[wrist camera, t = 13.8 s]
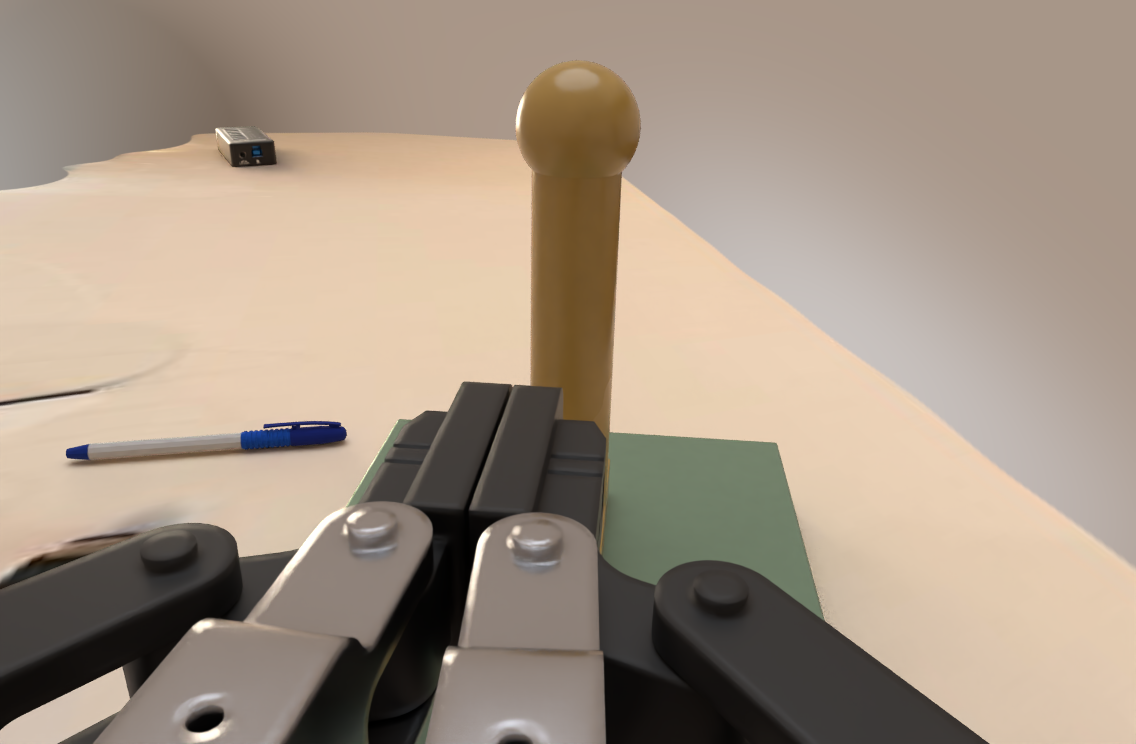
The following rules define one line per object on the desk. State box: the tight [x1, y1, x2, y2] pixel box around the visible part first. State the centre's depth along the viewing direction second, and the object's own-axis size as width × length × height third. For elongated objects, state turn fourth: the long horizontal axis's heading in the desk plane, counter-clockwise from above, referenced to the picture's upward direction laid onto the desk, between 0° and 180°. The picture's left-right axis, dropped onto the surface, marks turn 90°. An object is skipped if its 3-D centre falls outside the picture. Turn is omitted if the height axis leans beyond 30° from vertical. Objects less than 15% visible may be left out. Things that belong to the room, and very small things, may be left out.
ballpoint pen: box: [66, 421, 347, 460], centre depth 35 cm, size 10×1×1 cm, turn 103°
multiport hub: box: [216, 126, 276, 166], centre depth 93 cm, size 4×11×2 cm, turn 27°
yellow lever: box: [515, 60, 641, 557], centre depth 20 cm, size 3×11×13 cm, turn 175°
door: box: [345, 419, 825, 621], centre depth 22 cm, size 14×22×5 cm, turn 175°
